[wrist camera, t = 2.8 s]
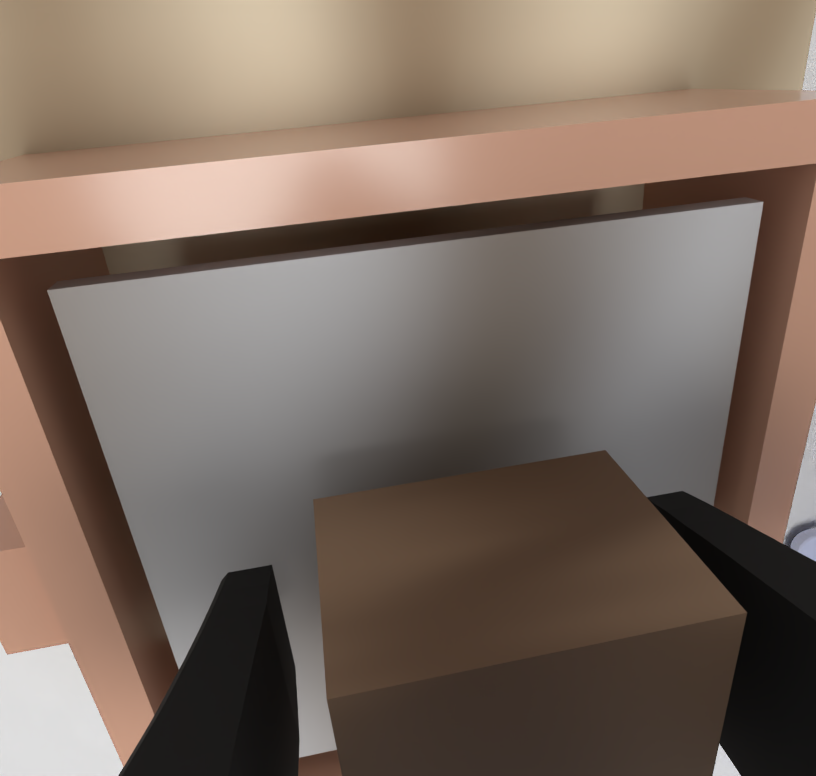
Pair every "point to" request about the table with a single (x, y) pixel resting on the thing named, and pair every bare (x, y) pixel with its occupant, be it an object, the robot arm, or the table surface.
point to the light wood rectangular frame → (362, 83)
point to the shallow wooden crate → (338, 199)
